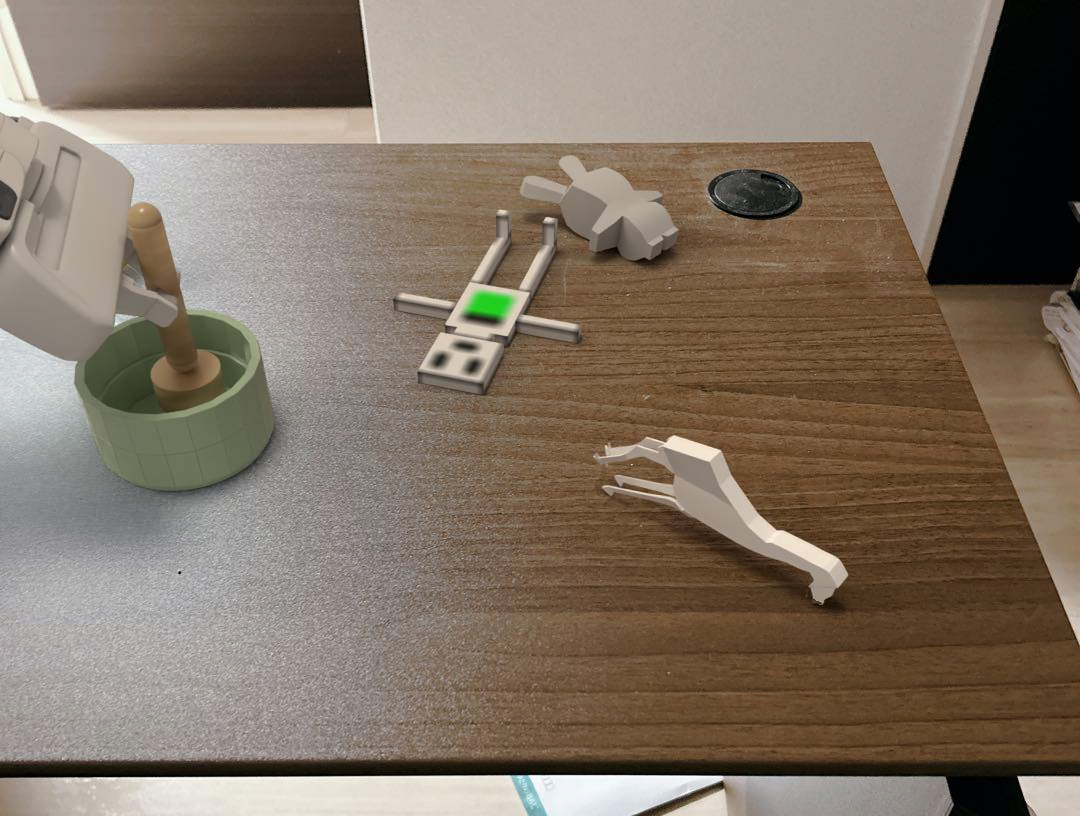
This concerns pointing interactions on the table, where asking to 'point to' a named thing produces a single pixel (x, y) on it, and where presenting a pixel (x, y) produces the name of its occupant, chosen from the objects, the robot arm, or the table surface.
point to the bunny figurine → (607, 210)
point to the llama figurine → (722, 505)
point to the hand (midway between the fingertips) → (175, 300)
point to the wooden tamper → (183, 368)
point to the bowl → (184, 436)
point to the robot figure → (486, 317)
